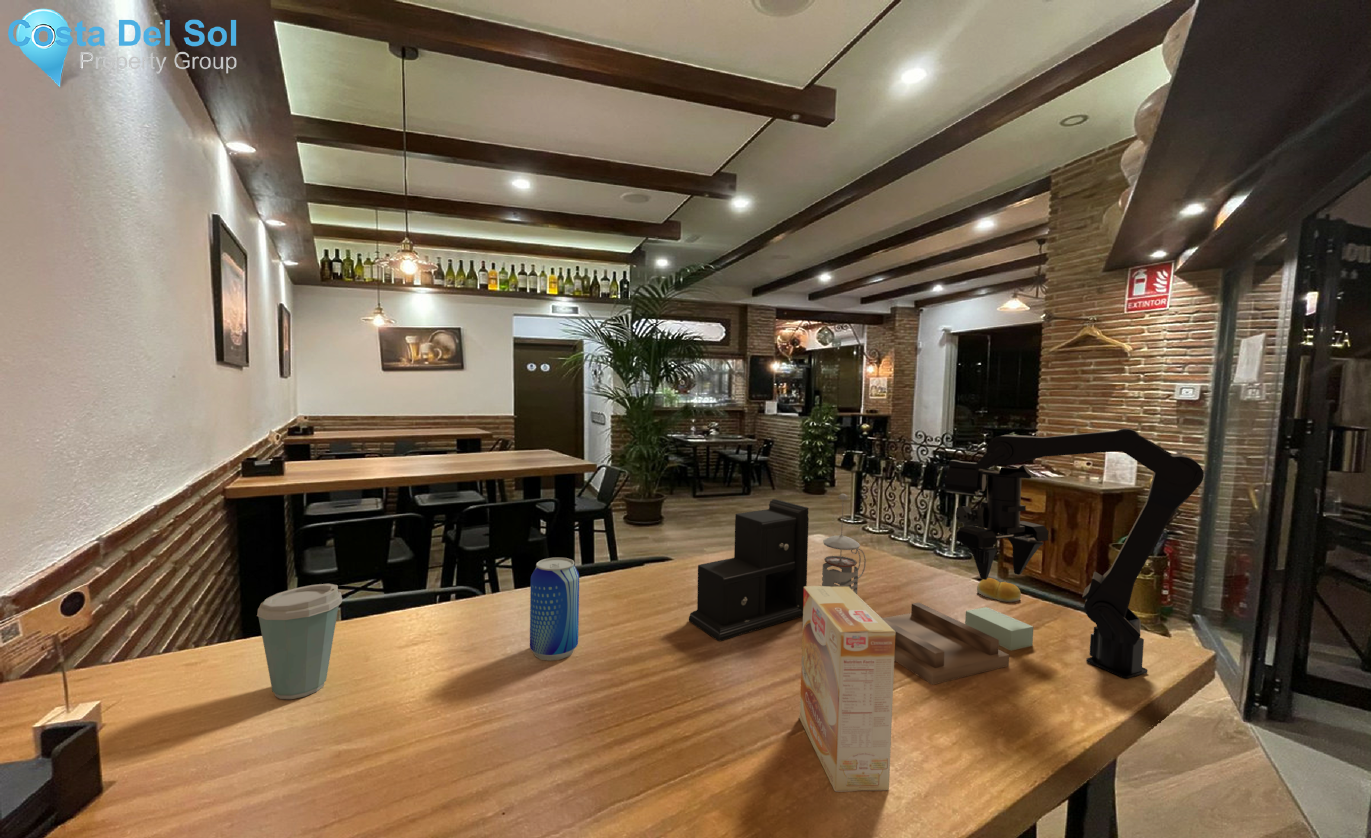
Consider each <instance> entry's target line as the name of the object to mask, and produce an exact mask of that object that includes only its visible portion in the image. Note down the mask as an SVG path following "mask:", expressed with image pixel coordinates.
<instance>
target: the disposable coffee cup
mask: <svg viewBox="0 0 1371 838" xmlns="http://www.w3.org/2000/svg"><path fill="white" fill-rule="evenodd" d="M338 587H339V586H338V585H337V584H333V583H323V584H322V583H319V584H311V585H305V586H300V587H295V588H291V589H287V590H284V591H280V592H277V593H275V594H273V595H270V596H269V597H267V598H266V599H264V601H262V602H261V603H260V605H259V607H258V608H257V615H256V617H258V621H259V627H260V631H261V632H260V633H261V637H262V642H263V648H264V649H263V650H264V654H265V660H266V664H267V669H268V674H269V679H270V685H271V691H272V693H274V696H275V697H276V698H278V699H280V700H294V699H299V698H305V697H306V696H310V695H311V694H314V693H317V692H318V691H319V690H320V689H322V688H324V686H325V683H326V681H327V677H328V671H329V665H330V660H331V654H332V649H333V648H332V646H333V643H334V642H333V641H334V635H335V629H336V625H337V618H338V612H339V611H338V610H339V606H340V605H341V604H342V603H343V597H342V592H341V591H338V589H339V588H338Z"/></svg>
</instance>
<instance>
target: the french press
mask: <svg viewBox="0 0 1371 838" xmlns="http://www.w3.org/2000/svg"><path fill="white" fill-rule="evenodd" d="M838 499H839V500H842V501H841V502H842V503H841V507H842V508H841V526H840V527H841V531H840V532H841V534H839V535H831V536H829V537H827V538H825V539H823V541H822V542H823V545H824V546H826V547H827V548H831V549H835V550H839V551H840V555H830V556H829V555H828V556H825V558H824V562H825V563H823V564H822V571H821V572H822V573H821V574H822V578H821V581H822V583H821V586H830V587H850V588H851V589H852V590H853V591H854V592H855V593H856V594H857V595H858V588H859V587H858V582H859V581H858V580H859V579H860V578H861V577H862V576H863V574H864V572H865V570H866V563H867V561H866V555H865V552H864V551H863V550H862V549H861V548H860V546H861V544H860V543H859V542H858V541H856V539H854V538H851V537H849V536H847V535H843V521H844V520H843V519H844V500H848V495H847V494H845V493H841V494H839V495H838ZM853 550H855V552H853ZM842 551H850V553H852V554H853V555H857V553H858V557H859V559H858V562H859V563H858V562H857V560H855V559H854V558H852V557H847V556H842ZM860 552H861V553H862V555H863V559H864V561H863V562H864V563H863V564H864V565H863V569H862V572H861V574H860V575H859V570H860V567H861V554H860ZM857 564H858V567H857V566H856V565H857ZM831 567H836V568H839V569H841V570H839V569H835V568H831ZM828 568H831V569H828ZM853 568H854V569H853ZM852 579H853V580H852Z"/></svg>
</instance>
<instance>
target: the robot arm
mask: <svg viewBox="0 0 1371 838" xmlns="http://www.w3.org/2000/svg"><path fill="white" fill-rule="evenodd" d="M1113 452H1115V453H1117V452H1122V453H1124V454H1126V455H1127V456H1129V457H1130V458H1131V459H1134V460H1135V461H1136V462H1138V464H1141V465H1142V466H1144V467H1145V468H1147V469H1148V470H1150V471H1152V472H1153V475H1152V478H1151V482H1150V485H1149V490H1148V494H1147V497H1146V501H1145V502H1144V504H1143V507H1142V508H1141V511H1140V512H1139V514H1138V516H1137V518H1136V520H1135V522H1134V523H1133V526H1132V528H1131V529H1130V531H1129V533H1128V535H1127V536H1126V538H1125V541H1124V543H1123V544H1122V545H1121V548H1120V549H1119V551H1118V553H1117V555H1116V557H1115V559H1114V561H1113V563H1112V564H1111V567H1110V568H1109V569H1108V570H1106V572H1105V573H1104V574H1103V575H1102V574H1100V573H1098V572H1097V571H1093V575H1092V579H1091V582H1090V583H1089V585H1087V586H1086V587H1085V588H1084V591H1083V594H1082V597H1081V598H1082V600H1085V602H1084V606H1083V609H1084V613H1085V614H1086V616H1087V617H1088V618H1089V620H1090V621H1091V622H1093V623H1095V625H1096V626H1093V633H1091V634H1090V643H1089V657H1087V658H1086V659H1085V661H1086V662H1087V663H1089V664H1091V665H1094V666H1096V667H1098V668H1100V669H1103V670H1105V671H1107V672H1108V673H1109V672H1110V673H1112V674H1113V675H1116V676H1118V677H1120V678H1123V679H1130V678H1133V677H1137V676H1140V675H1144V674H1147V673H1148V668H1145V667H1143V662H1144V661H1143V657H1144V644H1145V643H1144V642H1145V639H1144V638H1142V637H1141V619H1140V617H1138V616H1137V615H1136V614H1135V612H1133V611H1132V609H1131V608H1129V606H1130V603H1131V598H1132V594H1133V590H1134V586H1135V583H1136V581H1137V578H1138V577H1139V575H1140V573H1141V571H1142V570H1143V568H1144V566H1145V565H1146V563H1147V561H1148V560H1149V557H1150V555H1151V554H1152V552H1153V550H1154V549H1155V546H1156V545H1157V543H1158V541H1159V540H1160V537H1161V536H1162V534H1163V532H1164V531H1165V528H1166V526H1167V525H1168V523H1169V522H1170V519H1171V518H1172V516H1173V514H1174V513H1175V512H1176V511H1177V509H1178V508H1179V507H1181V506H1182V505H1183V504H1184V503H1185V502H1186V501H1187V500H1188V499H1189V498H1190V497H1191V495H1192V494H1193V493H1194V492H1195V491H1196V490H1197V489H1198V487H1199V486H1200V485H1201V484H1202V482H1203V479H1204V477H1205V474H1204V470H1203V468H1202V466H1201V465H1200V464H1199V462H1197V461H1196V460H1195V459H1194V458H1193V457H1190V456H1188V455H1185V454H1181V453H1171V452H1169V451H1168V450H1166V449H1165V448H1163V447H1161V446H1159V445H1158V444H1157V443H1154V442H1152V441H1151V440H1149V439H1147V438H1145V437H1144V436H1142V435H1140V434H1139V432H1138V431H1136V430H1135V429H1131V428H1127V427H1126V428H1120V429H1116V430H1107V431H1098V432H1097V431H1096V432H1087V433H1086V432H1085V433H1074V434H1063V435H1054V436H1053V435H1051V436H1032V435H1018V434H1017V435H1015V434H1004V435H999V436H995V437H994V438H991V440H990V441H989V442H988V443H987V445H986V453H985V454H983V456H982V457H981V458H980V459H978V461H977V462H971V461H970V462H969V461H961V460H958V459H951V460H949V461H948V467H947V469H946V474H945V476H944V487H945V488H944V489H945V492H946V493H952V494H962V495H969V496H978V495H979V494H980V492H984V491H985V490H986V486H987V490H986V501H981V503H980V505H979V506H980V508H979V509H977V508H976V509H971V508H970V507H969V506H968V505H966V506H957V507H956V510H955V511H956V512H955V519H956V521H957V522H958V523H960V524H961V523H962V526H960V527H958V528H957V529H956V530H955V541H957V542H960V544H961V545H962V546H965V547H966V548H967V549H968V550H969V551H970V553H971V555H972V556H973V559H974V562H975V566H976V568H977V571H978V574H979V577H980V579H981V580H983V579H984V580H987V578H989V575H990V572H991V568H992V566H993V563H994V559H995V556H996V553H997V547H994V546H995V545H996V544H997V540H1001V539H1007V540H1008V541H1009V543H1010V544H1011V547H1012V566H1013V567H1012V568H1013V573H1014V574H1015V575H1018V576H1020V575H1021V574H1022V573H1023V572H1024V570H1025V568H1026V567H1027V565H1028V564H1029V562H1030V561H1031V559H1032V557H1034V555H1035V553H1036V552H1037V551H1038V549H1039V548H1040V547H1041V546H1043V545H1044V541H1045V542H1046V541H1049V530H1048V529H1047V527H1046V526H1045V525H1043V524H1037V523H1034V522H1029V521H1025V520H1021V512H1026V510H1027V509H1026V507H1027V505H1024V504H1021V503H1022V502H1021V501H1022V500H1021V498H1022V479H1031V478H1033V477H1034V475H1035V474H1034V473H1033V472H1032V471H1031V470H1029V469H1028V468H1027V466H1026V465H1025V464H1021V465H1020V466H1019V467H1018V468H1017V467H1016V468H1015V467H1006V466H1010V465H1015V464H1019V463H1024V462H1028V461H1031V460H1035V459H1036V460H1037V459H1040V458H1044V457H1045V458H1046V457H1052V456H1053V457H1056V456H1071V455H1073V456H1075V455H1085V454H1097V453H1098V454H1099V453H1101V454H1102V453H1113ZM995 466H1002V467H1000V469H999V470H997V471H995V470H989V469H990V468H993V467H995Z"/></svg>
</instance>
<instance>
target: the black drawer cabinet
mask: <svg viewBox="0 0 1371 838" xmlns="http://www.w3.org/2000/svg"><path fill="white" fill-rule="evenodd" d="M768 507H769V508H768V509H762V510H753V511H752V510H751V511H746V512H740V513H736V514H735V519H734V555H733V557H731V558H725V559H721V560H717V561H716V560H715V561H710V562H706V563H701V564H698V565H697V597H696V598H697V600H696V601H697V603H696V604H697V605H696V608H697V609H696V610H693V611H692V612H690V614H689V616H688V621H689V622H690V623H691V624H693V625H694V626H696V628H699V629H700V630H702V631H703V632H705V633H706V634H707V635H709V636H711V637H712V638H713V639H715V640H716V641H718V642H721V641H724V640H727V639H731V638H733V637H734V638H735V637H738V636H741V635H745V634H748V633H752V632H754V631H758V630H760V629H764V628H767V627H768V628H769V627H770V626H774V625H778V624H780V623H784V622H787V621H790V620H791V621H792V620H794V619H798V618H800V617H803V599H804V586H808V552H809V551H808V550H809V549H808V548H809V519H810V518H809V507H807V506H803V505H801V504H800V505H799V504H795V503H791V502H789V501H788V502H787V501H784V500H781V499H777V498H773V499H772V500H770V501H769V504H768Z"/></svg>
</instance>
